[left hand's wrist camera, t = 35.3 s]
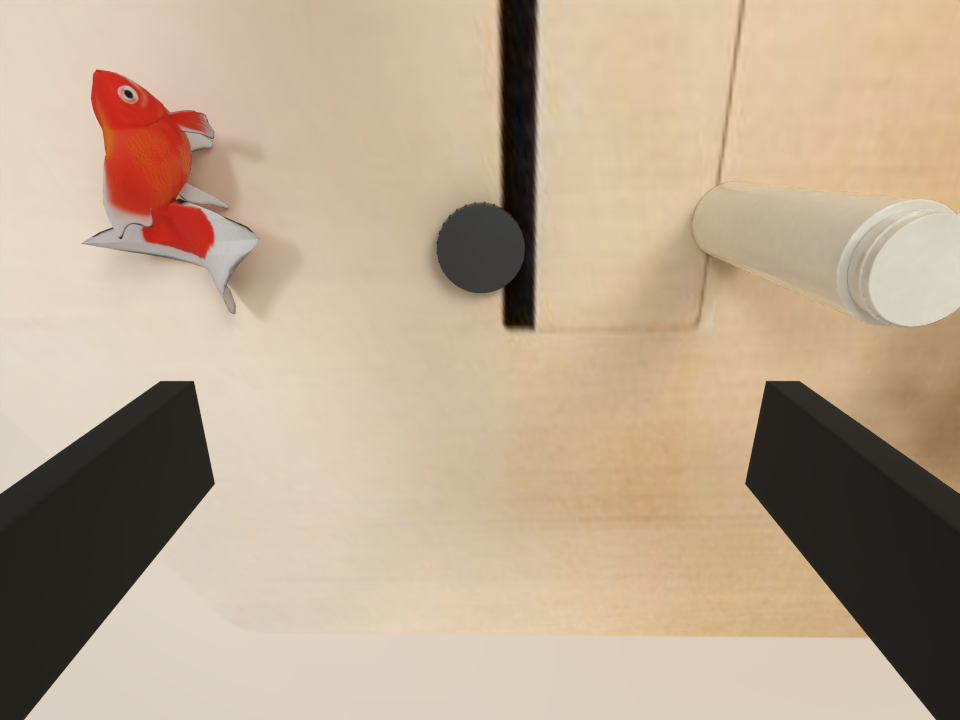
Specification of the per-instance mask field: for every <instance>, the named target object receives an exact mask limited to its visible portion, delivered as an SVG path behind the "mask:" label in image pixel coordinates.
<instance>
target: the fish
mask: <svg viewBox="0 0 960 720" xmlns="http://www.w3.org/2000/svg"><path fill="white" fill-rule="evenodd" d="M91 101H92V107H93V110H94V113H95V115H96V118H97V120H98V122H99V124H100V126H101V127H102V130H103V136H104V144H105V151H106V156H105V161H104V172H103V204H104V206H105V209H106V212H107V215H108V217H109V220H110V222H111V224H112V226H113V228H110V229H107V230H105V231H102V232H100V233H98V234H96V235H95V236H93V237H91V238H90V239H88V240H86V241H84V242H83V243H81V244H87V245H92V246H98V247H104V248H110V249H115V250H121V251H128V252H135V253H141V254H148V255H155V256H161V257H166V258H171V259H176V260H181V261H186V262H190V263H193V264H196V265H199V266H202V267H205V268H207V269H208V271H209V273H210V274H211V276H212V278H213V280H214V282H215V284H216V286H217V288H218V290H219V292H220V294H221V296H222V298H223V300H224V302H225V304H226V306H227V308H228V310H229V312H231V313H233V314H235V312H236V305H235V302H234V299H233V297H232V294H231V292H230V289H229V288H228V286H227V281H228V280H229V278H230V276H231V275H232V273H233V272H234V270H235V268H236V267H237V265H238V264H239V263H240V262H241V261H242V260H243V259H244V258H245V257H246V256H247V255H248V254H249V253H250V251H251V250H252V249H253V247H254V246H255V245H256V243H257V242H258V241H259V240H260V238H259V237H258V236H257V235H255V234H254V233H253V232H252V231H251V230H250V229H249V228H248V227H246V226H244V225H242V224H239V223H237V222H235V221H232V220H230V219H228V218H225V217H223V216H221V215H219V214H217V213H215V212H213V211H210V210H208V209H205V208H203V207H200V206H197V205H195V204H192V203H198V204H207V205H214V206H219V207H224V208H229V205H227V204H225V203H224V202H222V201H220V200H219V199H217V198H215V197H214V196H212V195H210V194H208V193H206V192H204V191H202V190H200V189H197V188H195V187H193V186H191V185H190V184H189V183H187V182H186V181H187V179H188V177H189V174H190V170H191V161H192V152H194V151H197V150H200V149H205V148H211V147H212V143H211V141H210V140H208V139H207V138H206V137H204V136H203V135H205V136H207V137H209V138H211V139H213V138H214V131H213V129H212V128H211V126H210V125H209V123H208V120H207V117H206V115H204V114H203V113H199V112H195V111H192V110H187V111H178V112H171V113H170V112H169V111H168V110H167V109H166V108H165V107H164V106H163V104H162V103H161V102H160V101H158V100H157V99H156V98H155V97H154V96H152V95H151V94H150V93H149V92H148V91H147V90H145V89H144V88H143V87H141V86H140V85H138V84H137V83H135V82H134V81H132V80H130V79H128V78H127V77H125V76H123V75H120V74H117V73H114V72H110V71H104V70H96V71H95V72H94V73H93V85H92V93H91ZM201 134H202V135H201ZM178 194H179V196H180V197H182V198H183V199H184V200H186V201H184V200H181V199H177V200H176V198H177V196H178ZM187 201H188V202H187ZM189 202H192V203H189Z"/></svg>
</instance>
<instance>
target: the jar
mask: <svg viewBox="0 0 960 720" xmlns="http://www.w3.org/2000/svg"><path fill="white" fill-rule="evenodd" d="M692 231H693V236H694V239H695V241H696V243H697V245H698V246H699V247H700V249H701V250H702V251H704V252H705V253H706V254H708V255H710V256H712V257H714V258H717V259H719V260H721V261H724V262H726V263H728V264H731V265H733V266H735V267H737V268H740V269H742V270H744V271H747V272H749V273H751V274H754V275H756V276H758V277H761V278H763V279H765V280H768V281H770V282H772V283H774V284H777V285H779V286H781V287H784V288H786V289H788V290H791V291H793V292H795V293H798V294H800V295H802V296H804V297H807V298H809V299H811V300H814V301H816V302H818V303H821V304H823V305H825V306H828V307H830V308H832V309H835V310H837V311H839V312H841V313H844V314H846V315H848V316H851V317H853V318H855V319H858V320H860V321H862V322H865V323H868V324H872V325H879V326H889V325H893V326H900V327H911V326H921V325H926V324H930V323H933V322H936V321H938V320H941V319H943V318H944V317H946V316H948V315H950V314H951V313H953V312H954V311H956V310H957V309H958V308H959V307H960V212H956V213H954V212H953V211H952V210H951V209H950V208H948V207H947V206H945V205H943V204H941V203H938V202H936V201H932V200H926V199H916V198H906V197H895V196H885V195H875V194H864V193H854V192H844V191H834V190H823V189H813V188H803V187H793V186H782V185H772V184H762V183H752V182H741V181H732V182H727V183H724V184H721V185H719V186H717V187H715V188H713V189H712V190H711V191H709V192H708V193H707V194H706V195H705V196H704V197H703V198H702V200H701V201H700V203H699V204H698V206H697V208H696V210H695V213H694V216H693V222H692Z"/></svg>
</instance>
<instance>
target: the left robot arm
mask: <svg viewBox="0 0 960 720" xmlns="http://www.w3.org/2000/svg"><path fill="white" fill-rule="evenodd" d="M214 484H215V483H214V478H213V473H212V468H211V463H210V458H209V453H208V448H207V443H206V438H205V433H204V429H203V424H202V419H201V414H200V409H199V404H198V399H197V394H196V389H195V384H194V381H160V382H159V383H157V384H156V385H154V386H153V387H152V388H150V389H149V390H147V391H146V392H144V393H143V394H142V395H140V396H139V397H137V398H136V399H134V400H133V401H132V402H130V403H129V404H127V405H126V406H125V407H123V408H122V409H120V410H119V411H117V412H116V413H115V414H113V415H112V416H110V417H109V418H108V419H106V420H105V421H103V422H102V423H100V424H99V425H98V426H96V427H95V428H93V429H92V430H90V431H89V432H88V433H86V434H85V435H83V436H82V437H81V438H79V439H78V440H76V441H75V442H73V443H72V444H71V445H69V446H68V447H66V448H65V449H64V450H62V451H61V452H59V453H58V454H56V455H55V456H54V457H52V458H51V459H49V460H48V461H47V462H45V463H44V464H42V465H41V466H39V467H38V468H37V469H35V470H34V471H32V472H31V473H29V474H28V475H27V476H25V477H24V478H22V479H21V480H20V481H18V482H17V483H15V484H14V485H12V486H11V487H10V488H8V489H7V490H5V491H4V492H3V493H1V494H0V720H24V719H25V718H26V717H27V715H28V714H29V713H30V712H31V710H32V709H33V708H34V707H35V705H36V704H37V703H38V702H39V701H40V699H41V698H42V697H43V696H44V694H45V693H46V692H47V691H48V689H49V688H50V687H51V686H52V684H53V683H54V682H55V681H56V680H57V678H58V677H59V676H60V675H61V673H62V672H63V671H64V670H65V668H66V667H67V666H68V665H69V663H70V662H71V661H72V660H73V658H74V657H75V656H76V655H77V654H78V652H79V651H80V650H81V649H82V647H83V646H84V645H85V644H86V642H87V641H88V640H89V639H90V637H91V636H92V635H93V634H94V633H95V631H96V630H97V629H98V628H99V626H100V625H101V624H102V623H103V621H104V620H105V619H106V618H107V616H108V615H109V614H110V613H111V612H112V610H113V609H114V608H115V607H116V605H117V604H118V603H119V602H120V600H121V599H122V598H123V597H124V595H125V594H126V593H127V592H128V590H129V589H130V588H131V587H132V586H133V584H134V583H135V582H136V581H137V579H138V578H139V577H140V576H141V574H142V573H143V572H144V571H145V569H146V568H147V567H148V566H149V565H150V563H151V562H152V561H153V560H154V558H155V557H156V556H157V555H158V553H159V552H160V551H161V550H162V548H163V547H164V546H165V545H166V544H167V542H168V541H169V540H170V539H171V537H172V536H173V535H174V534H175V532H176V531H177V530H178V529H179V527H180V526H181V525H182V524H183V523H184V521H185V520H186V519H187V518H188V516H189V515H190V514H191V513H192V511H193V510H194V509H195V508H196V506H197V505H198V504H199V503H200V502H201V500H202V499H203V498H204V497H205V495H206V494H207V493H208V492H209V490H210V489H211V488H212V487H213V485H214ZM745 484H746V485H747V487H748V488H749V489H750V490H751V492H752V493H753V494H754V495H755V497H756V498H757V499H758V500H759V502H760V503H761V504H762V505H763V506H764V508H765V509H766V510H767V511H768V513H769V514H770V515H771V516H772V518H773V519H774V520H775V521H776V523H777V524H778V525H779V526H780V527H781V529H782V530H783V531H784V532H785V534H786V535H787V536H788V537H789V539H790V540H791V541H792V542H793V544H794V545H795V546H796V547H797V548H798V550H799V551H800V552H801V553H802V555H803V556H804V557H805V558H806V560H807V561H808V562H809V563H810V565H811V566H812V567H813V568H814V569H815V571H816V572H817V573H818V574H819V576H820V577H821V578H822V579H823V581H824V582H825V583H826V584H827V586H828V587H829V588H830V589H831V591H832V592H833V593H834V594H835V595H836V597H837V598H838V599H839V600H840V602H841V603H842V604H843V605H844V607H845V608H846V609H847V610H848V612H849V613H850V614H851V615H852V616H853V618H854V619H855V620H856V621H857V623H858V624H859V625H860V626H861V628H862V629H863V630H864V631H865V633H866V634H867V635H868V636H869V637H870V639H871V640H872V641H873V642H874V644H875V645H876V646H877V647H878V648H879V650H880V651H881V652H882V654H883V655H884V656H885V657H886V658H887V660H888V661H889V662H890V663H891V665H892V666H893V667H894V668H895V670H896V671H897V672H898V673H899V675H900V676H901V677H902V678H903V680H904V681H905V682H906V683H907V684H908V686H909V687H910V688H911V689H912V691H913V692H914V693H915V694H916V696H917V697H918V698H919V699H920V701H921V702H922V703H923V704H924V705H925V707H926V708H927V709H928V710H929V712H930V713H931V714H932V715H933V717H934V718H935V719H936V720H960V494H959V493H957V492H956V491H955V490H953V489H952V488H950V487H949V486H948V485H946V484H945V483H943V482H942V481H940V480H939V479H938V478H936V477H935V476H933V475H932V474H931V473H929V472H928V471H926V470H925V469H923V468H922V467H921V466H919V465H918V464H916V463H915V462H913V461H912V460H911V459H909V458H908V457H906V456H905V455H904V454H902V453H901V452H899V451H898V450H896V449H895V448H894V447H892V446H891V445H889V444H888V443H887V442H885V441H884V440H882V439H881V438H879V437H878V436H877V435H875V434H874V433H872V432H871V431H870V430H868V429H867V428H865V427H864V426H862V425H861V424H860V423H858V422H857V421H855V420H854V419H852V418H851V417H850V416H848V415H847V414H845V413H844V412H843V411H841V410H840V409H838V408H837V407H835V406H834V405H833V404H831V403H830V402H828V401H827V400H826V399H824V398H823V397H821V396H820V395H818V394H817V393H816V392H814V391H813V390H811V389H810V388H808V387H807V386H806V385H804V384H803V383H801V382H800V381H766V384H765V389H764V394H763V399H762V404H761V409H760V414H759V419H758V424H757V429H756V433H755V438H754V443H753V448H752V453H751V458H750V463H749V468H748V473H747V478H746V482H745Z"/></svg>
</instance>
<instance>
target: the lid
mask: <svg viewBox="0 0 960 720" xmlns="http://www.w3.org/2000/svg"><path fill="white" fill-rule="evenodd" d="M524 242H525V240H524V238H523V235H522V230H521V229H520V228H519V226H518V222H517V221H515V220H514V219H513V217H512V215H511V214H509V213H508V212H506V211H505V210H504V208H500V207H498V206H495V204H493V205H492V204H488V203H485V202H484V203H476V202H474V204H469V205H465V206H464V207H462V208H460V209H456V211H455V212H454V213H453V214H452V215H449V218H448V219H447V221H446V222H444V223H443V228H442V230H441V231H440V232H439V238H438V241H437V255H438V260H439V263H440V266H441V268H442V270H443V272H444V273H445V275H446V276H447V277H448V279H449V280H450V281H452V282H453V283H454V284H455V285H457V286H458V287H460V288H462V289H464V290H467V291H470V292H474V293H487V292H492V291H495V290H498V289H500V288H502V287H504V286H505V285H507V284H508V283H509V282H510V281H511V280H512V279H513V278H514V277H515V276H516V274H517V273H518V271H519V270H520V268H521V265H522V263H523V261H524V253H525V245H524Z"/></svg>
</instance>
